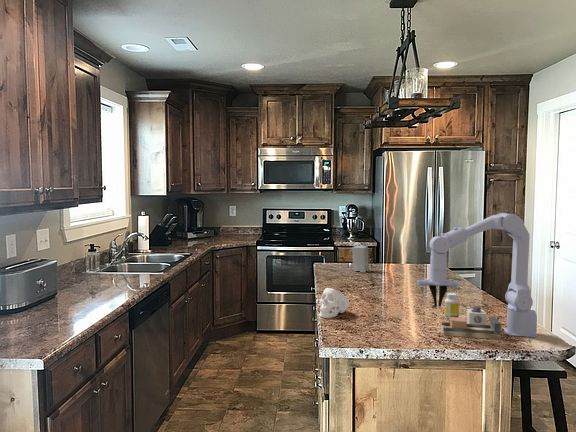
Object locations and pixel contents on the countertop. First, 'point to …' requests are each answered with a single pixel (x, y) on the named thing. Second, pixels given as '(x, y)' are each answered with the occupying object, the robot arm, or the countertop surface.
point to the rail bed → (475, 330)
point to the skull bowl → (332, 303)
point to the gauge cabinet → (476, 317)
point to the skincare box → (360, 258)
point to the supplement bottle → (451, 306)
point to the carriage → (458, 322)
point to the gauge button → (477, 309)
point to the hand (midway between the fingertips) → (437, 306)
